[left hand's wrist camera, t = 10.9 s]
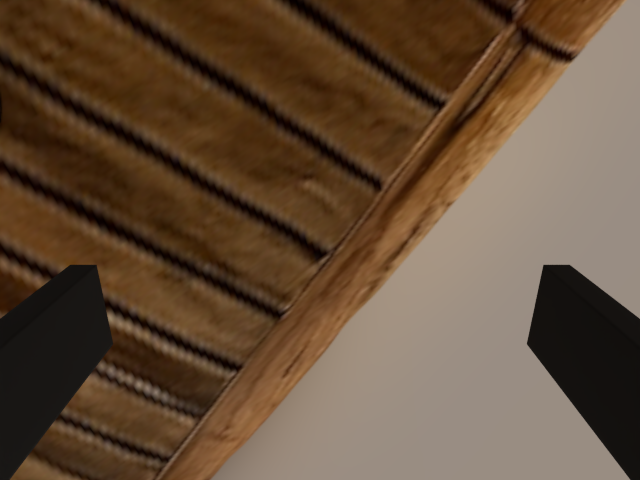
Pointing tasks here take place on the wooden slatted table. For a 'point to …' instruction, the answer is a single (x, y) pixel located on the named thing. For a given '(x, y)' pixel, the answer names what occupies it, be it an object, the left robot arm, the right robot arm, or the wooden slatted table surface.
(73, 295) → the left robot arm
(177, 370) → the wooden slatted table surface
